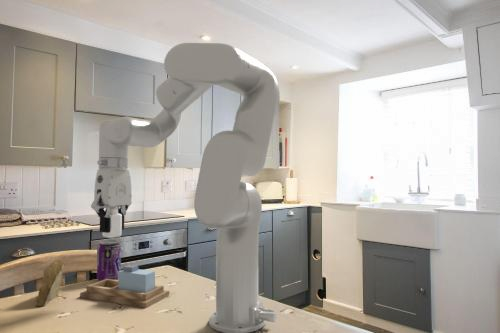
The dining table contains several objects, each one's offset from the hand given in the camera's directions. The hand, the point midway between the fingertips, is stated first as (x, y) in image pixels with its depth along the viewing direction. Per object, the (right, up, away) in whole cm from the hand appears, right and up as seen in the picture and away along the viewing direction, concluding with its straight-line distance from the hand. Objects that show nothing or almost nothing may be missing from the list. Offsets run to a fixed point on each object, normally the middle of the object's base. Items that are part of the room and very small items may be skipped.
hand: (112, 230), depth 100 cm
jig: (+4, -18, -1) cm, 19 cm away
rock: (-17, -18, -3) cm, 25 cm away
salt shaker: (0, -2, 0) cm, 2 cm away
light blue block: (+8, -17, -2) cm, 19 cm away
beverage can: (-7, -19, +15) cm, 25 cm away
